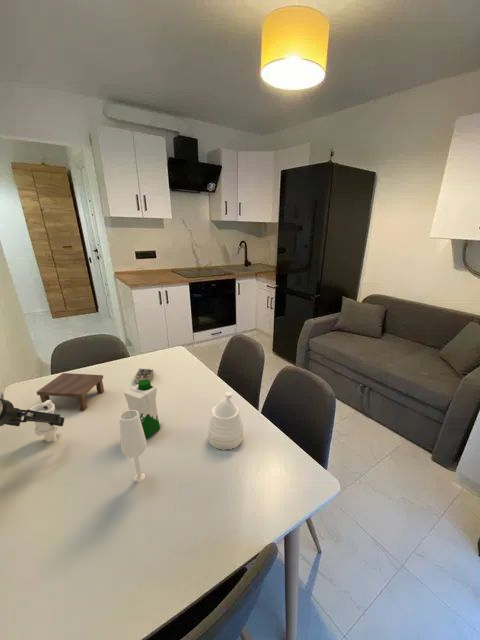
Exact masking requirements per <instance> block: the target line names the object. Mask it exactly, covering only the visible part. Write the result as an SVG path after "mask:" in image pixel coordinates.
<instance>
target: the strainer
mask: <svg viewBox="0 0 480 640" xmlns="http://www.w3.org/2000/svg"><path fill="white" fill-rule="evenodd" d="M43 406H47V407H48V408H46V409H45V410H43V409H41V410H39V411H38V410H37V409H40V408H44V407H43ZM55 406H56V405H55V403H53V402H52V399H50V400H47V401H46V402H44V403H42V402H41V403H38V404H36V405H33V406H31V408H29V409H28V410H33V411H38V412H45V413H52V414H55V413H54V412H55V410H56V407H55ZM34 425H35V427H34V429H33V431H34V434H35V435H37V436H39V437H40V436H41V437H44V439H45V442H47V443H50V442H57V441H58V438H57V435H56V431H58V430H59V429H60V428H61V426H56V425H53V426H50V424H48V423H43V422H34Z"/></svg>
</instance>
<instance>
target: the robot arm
mask: <svg viewBox="0 0 480 640" xmlns="http://www.w3.org/2000/svg"><path fill="white" fill-rule="evenodd" d="M22 418H23V419H22ZM65 418H66V417H62V416H61V414H60V413H54V414H52V413H45V412H38V410H37V411H33V410H29V409H21V408H19V407H14V404H13V403H12V402H11V401H10V400H8V399H4V398H1V397H0V427H3V426H4V425H8V426H13V427H20V426H21V423H27V422H33V423H35V422H43V423H48V424H50V426H53V425H56V426H60V427H63V426H64V422H65Z"/></svg>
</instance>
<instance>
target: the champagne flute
mask: <svg viewBox="0 0 480 640" xmlns="http://www.w3.org/2000/svg"><path fill="white" fill-rule="evenodd" d="M118 418H119V434H120V448H121V453H122V454H123V455H124V456H125V457H127V458H132V459H134V465H135V471H136V475H134V477H133V480H134V481H135V482H142V481H143V480H144V479H146V474H145V473H143V472H142V470H141V463H140V458H139V457H140V456H142V455H143V454H144V452H145V451H146V450H147V447H148V441H147V439H146V438H145V435H144V431H143V427H142V424H141V420H140V417H139V413H138V411H136V410H129V409H127V410H125V411H123V412H121V413H120V414H119V417H118Z"/></svg>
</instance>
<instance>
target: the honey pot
mask: <svg viewBox="0 0 480 640" xmlns="http://www.w3.org/2000/svg"><path fill="white" fill-rule="evenodd" d="M224 396H225V398H222V399H221V400H219V402H218V403H217V404H216V405H214V406H213V407H212V409H211V410H210V413H211V417H210V420H209V422H208V425H207V441H208V440H209V441H208V444H209V445H210V444H211V445H212V446H213V448H214V447H215V448H214V449H216V448H218V449H217V450H219V449H222V450H221V451H227V450H226V449H230V450H233V449H232V448H234V449H235V447H236V448H237V446H238V445H239V444H240V443H241V442H242V443H243V441H242V440H244V423H243V421H242V418H241V416H240V412H241V411H240V408H239V406H237V405H236V404H234V402H233V401H232V400H230V399H231V398H232V397H233V392H232V391H226V392H225V393H224ZM242 443H241V444H242ZM241 444H240V445H241ZM211 445H210V446H211ZM240 445H239V446H240ZM212 446H211V447H212ZM239 446H238V447H239Z"/></svg>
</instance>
